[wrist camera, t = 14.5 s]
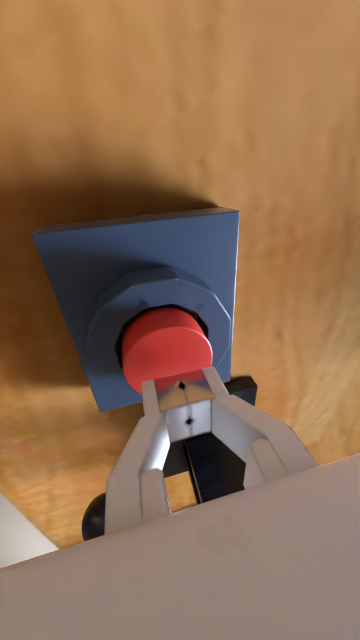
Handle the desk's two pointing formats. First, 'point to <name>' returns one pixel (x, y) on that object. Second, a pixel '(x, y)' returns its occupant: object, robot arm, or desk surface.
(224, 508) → the robot arm
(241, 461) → the black metal stand
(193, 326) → the button
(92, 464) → the desk surface
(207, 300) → the button box
